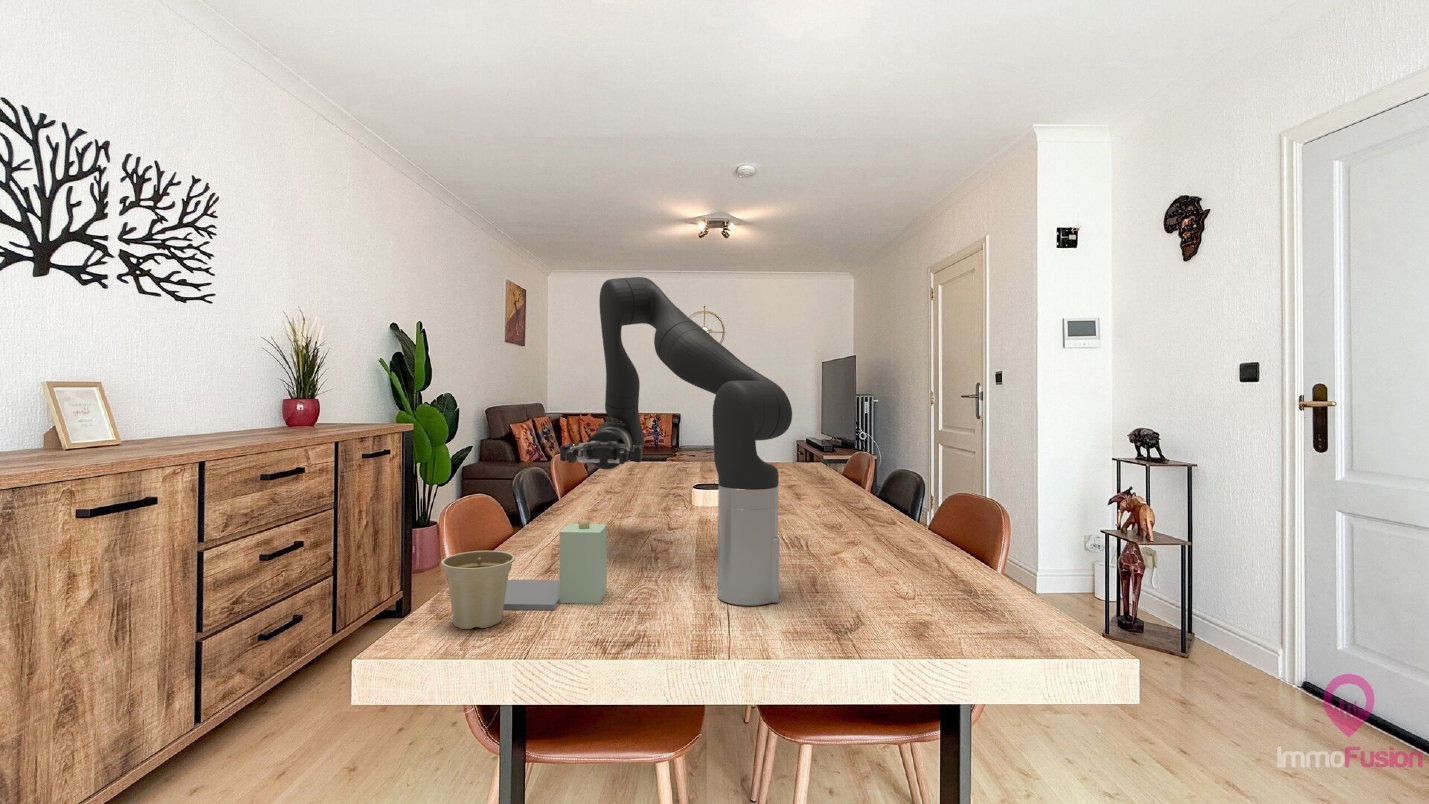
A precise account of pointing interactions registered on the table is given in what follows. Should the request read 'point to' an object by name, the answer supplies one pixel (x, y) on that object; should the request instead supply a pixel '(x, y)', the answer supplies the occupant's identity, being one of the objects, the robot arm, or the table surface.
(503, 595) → the flower pot
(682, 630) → the table surface
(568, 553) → the sage green tall block
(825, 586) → the table surface
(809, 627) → the table surface
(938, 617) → the table surface
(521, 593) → the slate coaster
